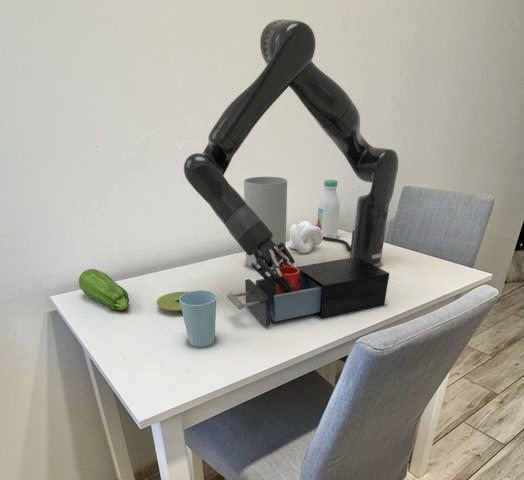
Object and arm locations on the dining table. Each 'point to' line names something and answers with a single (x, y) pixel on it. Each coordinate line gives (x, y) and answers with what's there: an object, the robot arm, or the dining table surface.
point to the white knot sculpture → (305, 236)
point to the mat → (170, 301)
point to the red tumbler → (289, 278)
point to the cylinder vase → (268, 205)
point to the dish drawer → (279, 300)
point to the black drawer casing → (347, 285)
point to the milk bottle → (329, 210)
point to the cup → (199, 316)
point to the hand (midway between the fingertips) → (294, 286)
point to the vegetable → (103, 289)
